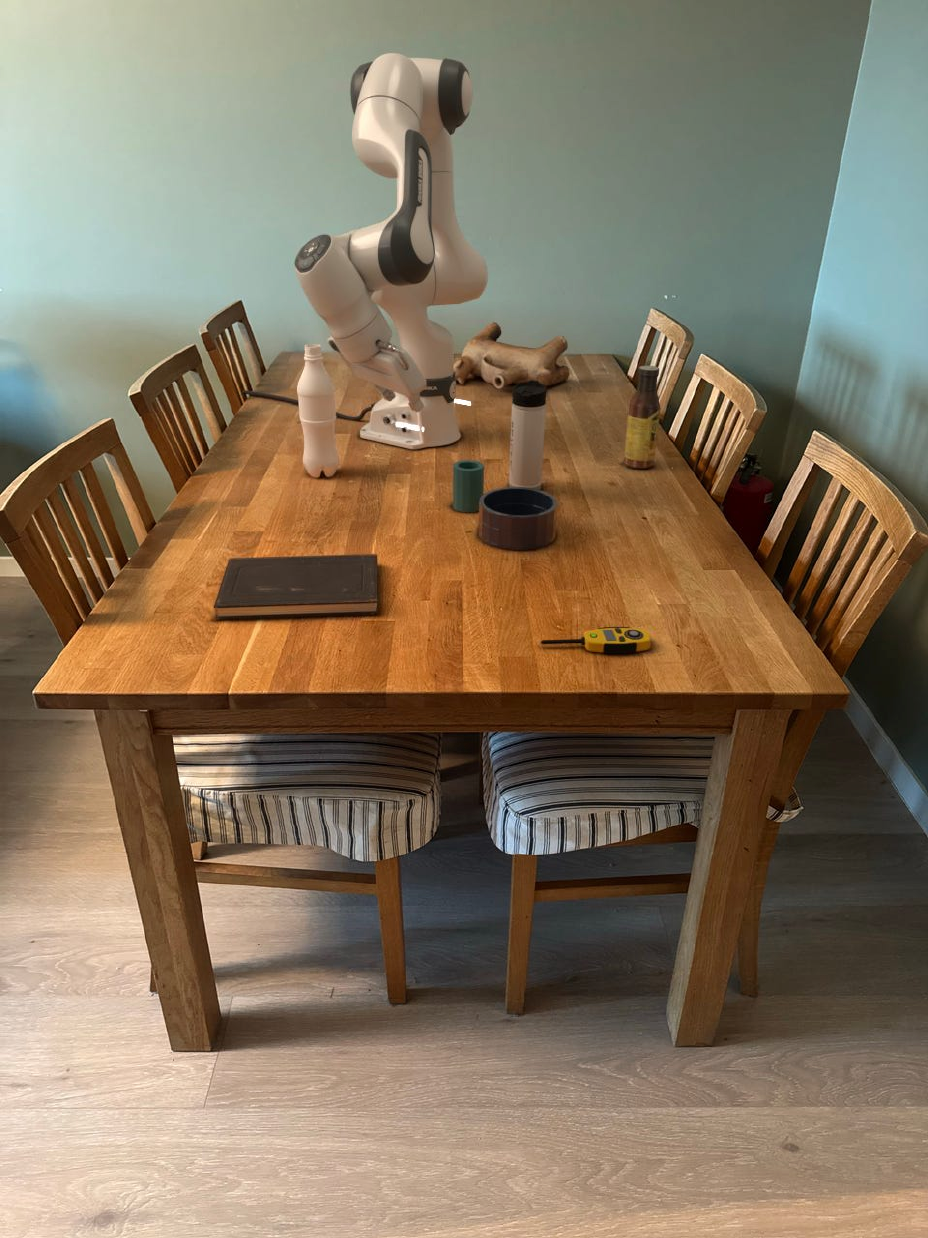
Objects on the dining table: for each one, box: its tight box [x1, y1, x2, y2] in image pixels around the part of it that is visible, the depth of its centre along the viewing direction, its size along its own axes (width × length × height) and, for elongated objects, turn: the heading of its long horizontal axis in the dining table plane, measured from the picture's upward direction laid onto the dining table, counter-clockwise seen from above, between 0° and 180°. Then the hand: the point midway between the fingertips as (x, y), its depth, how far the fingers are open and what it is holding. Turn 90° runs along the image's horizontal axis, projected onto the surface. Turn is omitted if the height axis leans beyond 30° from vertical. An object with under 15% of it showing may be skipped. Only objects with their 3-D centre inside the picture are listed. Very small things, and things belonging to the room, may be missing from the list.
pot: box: [478, 486, 559, 551], centre depth 150 cm, size 13×13×6 cm
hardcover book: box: [213, 553, 379, 621], centre depth 132 cm, size 16×23×2 cm
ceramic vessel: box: [454, 321, 570, 390], centre depth 232 cm, size 13×31×25 cm
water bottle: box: [296, 343, 340, 478], centre depth 169 cm, size 7×7×25 cm
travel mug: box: [508, 380, 548, 490], centre depth 165 cm, size 6×7×20 cm
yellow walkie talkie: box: [540, 626, 652, 655], centre depth 119 cm, size 5×2×15 cm
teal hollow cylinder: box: [452, 459, 485, 513], centre depth 159 cm, size 6×6×8 cm
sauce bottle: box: [623, 365, 661, 470], centre depth 176 cm, size 7×6×20 cm
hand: (404, 403), depth 152 cm, fingers open, 8 cm apart
